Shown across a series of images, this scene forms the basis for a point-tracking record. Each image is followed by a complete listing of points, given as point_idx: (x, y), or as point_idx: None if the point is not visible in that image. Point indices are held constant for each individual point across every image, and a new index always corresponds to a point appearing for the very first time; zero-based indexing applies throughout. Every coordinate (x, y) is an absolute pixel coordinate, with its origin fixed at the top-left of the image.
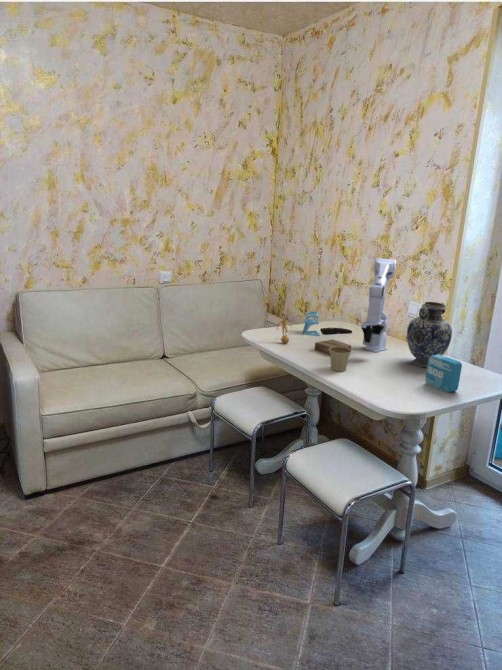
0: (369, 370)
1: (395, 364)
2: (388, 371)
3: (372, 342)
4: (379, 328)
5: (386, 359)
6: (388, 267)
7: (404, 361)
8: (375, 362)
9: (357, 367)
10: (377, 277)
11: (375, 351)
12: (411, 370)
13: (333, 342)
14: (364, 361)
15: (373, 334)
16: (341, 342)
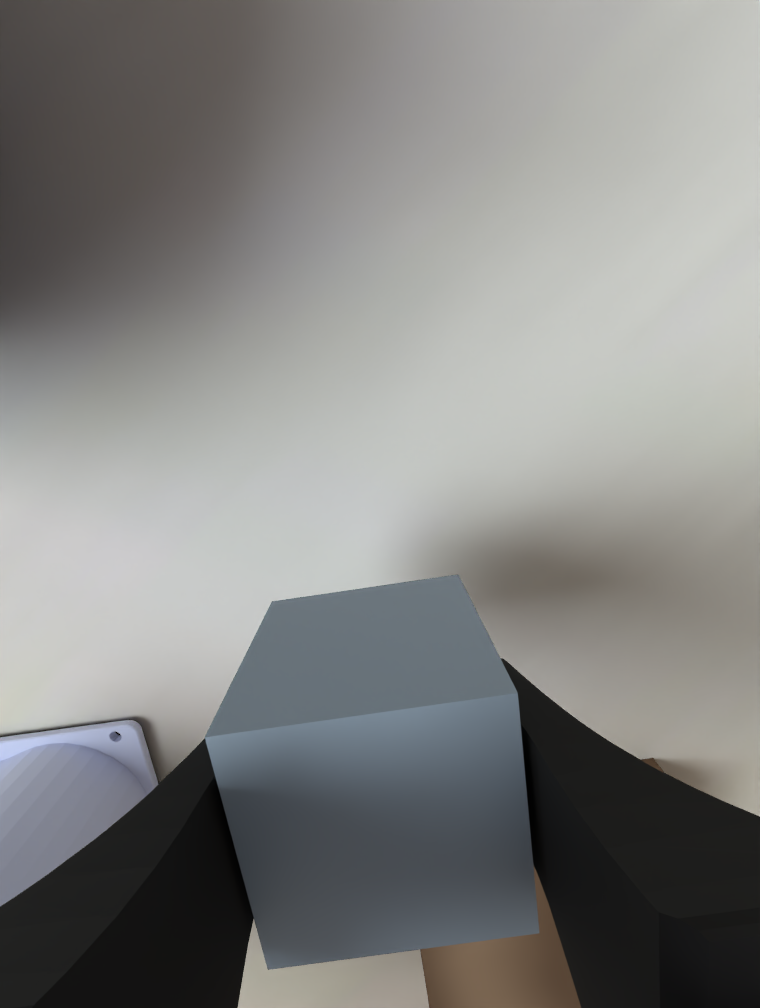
0: (682, 275)
1: (215, 312)
2: (504, 140)
3: (470, 612)
4: (109, 999)
5: (187, 496)
6: None
7: (17, 354)
8: (392, 465)
9: (716, 413)
10: None
11: (131, 724)
12: (184, 27)
13: (514, 997)
14: (482, 537)
15: (354, 819)
16: (428, 975)
